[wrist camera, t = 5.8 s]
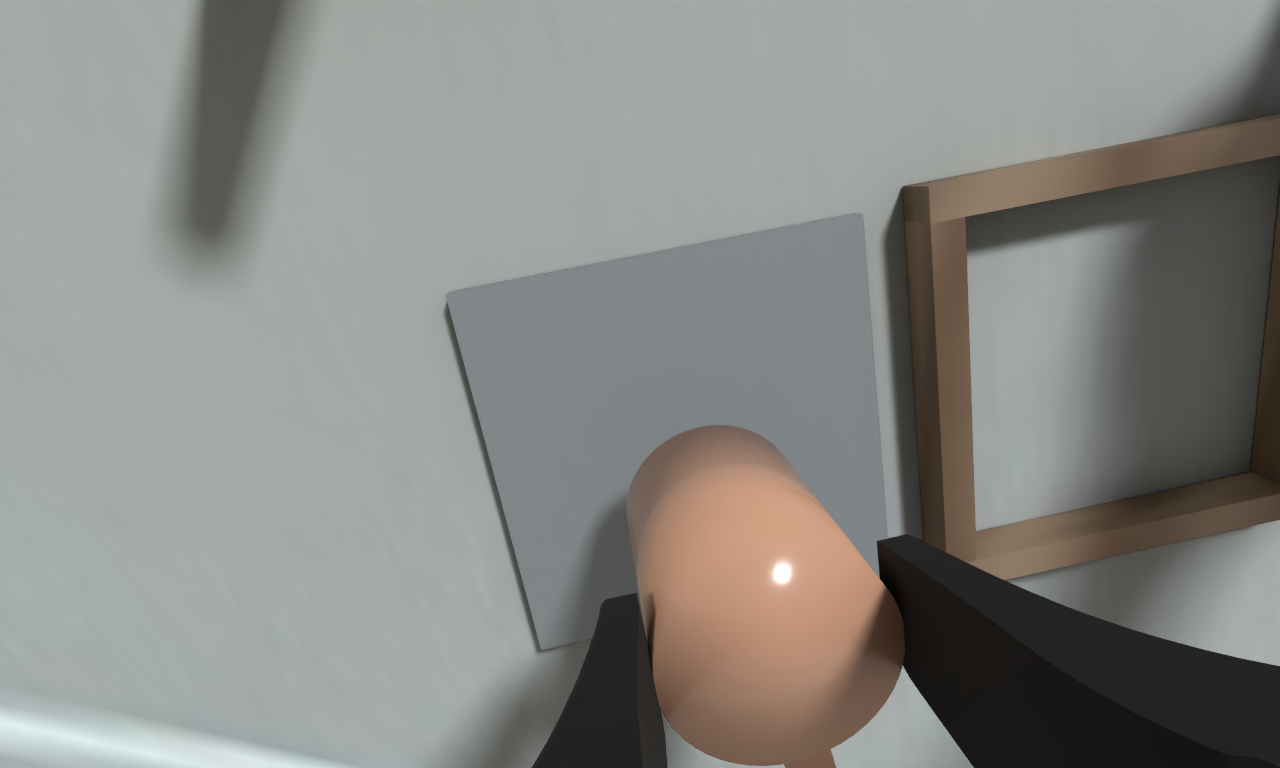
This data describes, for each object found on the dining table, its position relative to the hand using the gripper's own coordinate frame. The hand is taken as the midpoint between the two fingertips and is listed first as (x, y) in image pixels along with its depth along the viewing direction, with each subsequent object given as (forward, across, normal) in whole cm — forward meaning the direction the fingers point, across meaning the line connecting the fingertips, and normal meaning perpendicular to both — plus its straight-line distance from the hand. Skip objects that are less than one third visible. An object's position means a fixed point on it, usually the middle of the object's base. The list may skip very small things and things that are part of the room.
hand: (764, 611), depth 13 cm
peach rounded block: (+5, 0, 0) cm, 5 cm away
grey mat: (+9, 0, 0) cm, 9 cm away
